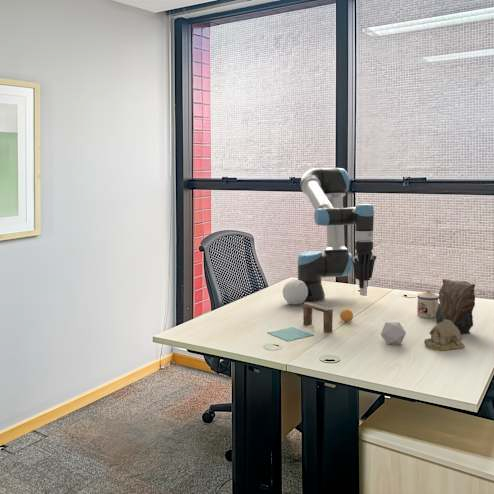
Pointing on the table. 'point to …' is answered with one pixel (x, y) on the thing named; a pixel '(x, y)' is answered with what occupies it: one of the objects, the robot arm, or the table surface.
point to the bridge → (326, 315)
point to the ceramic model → (444, 337)
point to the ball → (346, 315)
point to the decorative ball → (295, 292)
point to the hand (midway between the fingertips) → (363, 295)
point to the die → (393, 333)
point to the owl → (456, 304)
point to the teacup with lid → (427, 304)
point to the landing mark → (290, 334)
